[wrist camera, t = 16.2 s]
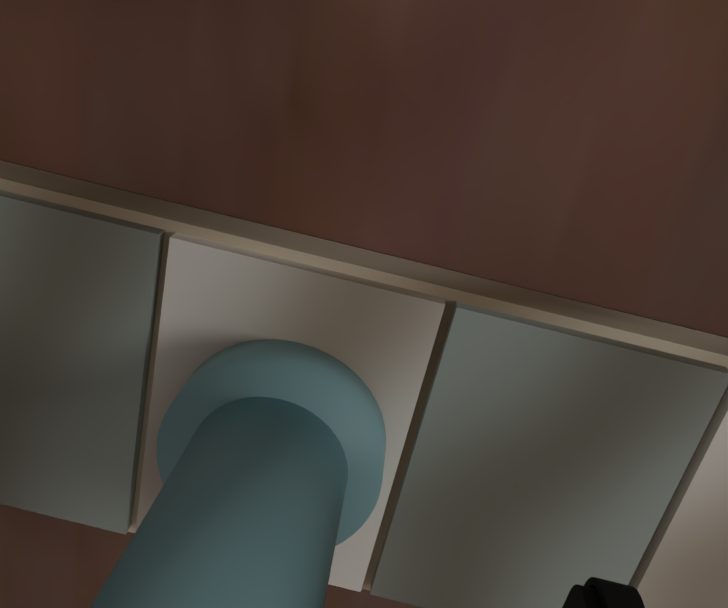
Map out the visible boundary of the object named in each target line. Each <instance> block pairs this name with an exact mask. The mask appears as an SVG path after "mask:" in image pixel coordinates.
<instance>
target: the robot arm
mask: <svg viewBox="0 0 728 608" xmlns="http://www.w3.org/2000/svg"><path fill="white" fill-rule="evenodd" d="M562 608H645V606H644V603H643V601H642V598H641V596H640V594H639V592H638V590H637V589H636V588H634V587H633V586H629V585H625V584H621V583H617V582H613V581H609V580H605V579H600V578H596V577H590V578H589V579H588V580H587V581H586V583H585V584H584V586H582V585H577V584H575V585H574V586H573V587H572V588H571V590H570V592H569V594H568V596H567V598H566V600H565V602H564V605H563V607H562Z"/></svg>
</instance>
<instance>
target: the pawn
mask: <svg viewBox="0 0 728 608" xmlns="http://www.w3.org/2000/svg"><path fill="white" fill-rule="evenodd" d="M385 451H386V432H385V424H384V421H383V417H382V413H381V411H380V408H379V406H378V404H377V401H376V400H375V398H374V396H373V395H372V393H371V391H370V390H369V388H368V387H367V386H366V385H365V383H364V382H363V381H362V379H361V378H360V377H359V376H358V375H357V374H356V373H354V372H353V371H352V370H351V369H350V368H349V367H348V366H346V365H345V364H344V363H342V362H341V361H340V360H338V359H336V358H335V357H333V356H331V355H330V354H328V353H326V352H324V351H321V350H319V349H317V348H315V347H312V346H308V345H305V344H302V343H298V342H293V341H287V340H275V339H265V340H254V341H248V342H243V343H240V344H237V345H233V346H230V347H228V348H226V349H224V350H222V351H220V352H218V353H216V354H215V355H213V356H212V357H210V358H209V359H207V360H206V361H205V362H204V363H203V364H201V365H200V366H199V367H198V368H197V369H196V370H195V372H194V373H193V374H192V375H191V377H190V378H189V379H188V381H187V382H186V384H185V385H184V386H183V388H182V389H181V391H180V392H179V393H178V395H177V396H176V398H175V399H174V400H173V402H172V403H171V405H170V406H169V408H168V410H167V411H166V413H165V415H164V417H163V419H162V422H161V425H160V427H159V432H158V436H157V445H156V456H157V465H158V469H159V473H160V477H161V480H162V482H163V487H162V489H161V490H160V492H159V494H158V495H157V497H156V499H155V500H154V502H153V504H152V505H151V507H150V509H149V510H148V512H147V514H146V515H145V517H144V519H143V521H142V522H141V524H140V526H139V527H138V529H137V531H136V532H135V534H134V536H133V537H132V539H131V541H130V542H129V544H128V546H127V547H126V549H125V551H124V552H123V554H122V556H121V557H120V559H119V561H118V562H117V564H116V566H115V567H114V569H113V571H112V572H111V574H110V576H109V577H108V579H107V581H106V583H105V584H104V586H103V588H102V589H101V591H100V593H99V594H98V596H97V598H96V599H95V601H94V603H93V604H92V606H91V608H324V604H325V598H326V593H327V587H328V582H329V577H330V571H331V566H332V560H333V555H334V550H335V546H337V545H338V544H340V543H342V542H344V541H345V540H346V539H348V538H349V537H351V536H352V535H353V534H354V533H355V532H356V531H358V530H359V529H360V528H361V527H362V526H363V524H364V523H365V522H366V520H367V519H368V518H369V517H370V515H371V513H372V511H373V510H374V508H375V506H376V503H377V501H378V498H379V495H380V491H381V486H382V479H383V470H384V460H385Z"/></svg>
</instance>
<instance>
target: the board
mask: <svg viewBox="0 0 728 608" xmlns="http://www.w3.org/2000/svg"><path fill="white" fill-rule="evenodd" d="M265 339H275V340H287V341H293V342H298V343H302V344H305V345H308V346H312V347H315V348H317V349H319V350H321V351H324V352H326V353H328V354H330V355H331V356H333V357H335V358H336V359H338V360H340V361H341V362H342V363H344V364H345V365H346V366H348V367H349V368H350V369H351V370H352V371H353V372H354V373H356V374H357V375H358V376H359V377H360V378H361V379H362V381H363V382H364V383H365V385H366V386H367V387H368V388H369V390H370V391H371V393H372V395H373V396H374V398H375V400H376V401H377V404H378V406H379V408H380V411H381V413H382V417H383V421H384V424H385V432H386V451H385V460H384V470H383V479H382V486H381V491H380V495H379V498H378V501H377V503H376V506H375V508H374V510H373V511H372V513H371V515H370V517H369V518H368V519H367V520H366V522H365V523H364V524H363V526H362V527H361V528H360V529H359V530H358V531H356V532H355V533H354V534H353V535H352V536H351V537H349V538H348V539H346V540H345V541H344V542H342V543H340V544H338V545H337V546H335V550H334V555H333V560H332V566H331V571H330V577H329V582H328V584H330V585H334V586H338V587H342V588H346V589H350V590H354V591H358V592H361V589H365V590H370V594H371V595H375V596H379V597H383V598H387V599H391V600H395V601H399V602H403V603H407V604H411V605H416V606H420V607H424V608H562V607H563V605H564V602H565V600H566V598H567V596H568V594H569V592H570V590H571V588H572V587H573V586H574V585H575V584H577V585H582V586H584V584H585V583H586V581H587V580H588V579H589V578H590V577H596V578H600V579H605V580H609V581H613V582H617V583H621V584H625V585H629V586H633V587H634V588H636V589H637V590H638V592H639V594H640V596H641V598H642V601H643V603H644V606H645V608H728V338H726V337H722V336H718V335H714V334H710V333H706V332H701V331H697V330H693V329H689V328H685V327H681V326H677V325H673V324H669V323H665V322H661V321H656V320H652V319H648V318H644V317H640V316H636V315H632V314H628V313H624V312H620V311H615V310H611V309H607V308H603V307H599V306H595V305H591V304H587V303H583V302H579V301H575V300H570V299H566V298H562V297H558V296H554V295H550V294H546V293H542V292H538V291H534V290H529V289H525V288H521V287H517V286H513V285H509V284H505V283H501V282H497V281H493V280H489V279H484V278H480V277H476V276H472V275H468V274H464V273H460V272H456V271H452V270H448V269H444V268H439V267H435V266H431V265H427V264H423V263H419V262H415V261H411V260H407V259H403V258H398V257H394V256H390V255H386V254H382V253H378V252H374V251H370V250H366V249H362V248H358V247H353V246H349V245H345V244H341V243H337V242H333V241H329V240H325V239H321V238H317V237H313V236H308V235H304V234H300V233H296V232H292V231H288V230H284V229H280V228H276V227H272V226H267V225H263V224H259V223H255V222H251V221H247V220H243V219H239V218H235V217H231V216H227V215H222V214H218V213H214V212H210V211H206V210H202V209H198V208H194V207H190V206H186V205H181V204H177V203H173V202H169V201H165V200H161V199H157V198H153V197H149V196H145V195H141V194H136V193H132V192H128V191H124V190H120V189H116V188H112V187H108V186H104V185H100V184H96V183H91V182H87V181H83V180H79V179H75V178H71V177H67V176H63V175H59V174H55V173H50V172H46V171H42V170H38V169H34V168H30V167H26V166H22V165H18V164H14V163H10V162H5V161H1V160H0V504H3V505H7V506H11V507H15V508H19V509H23V510H27V511H31V512H36V513H40V514H44V515H48V516H52V517H56V518H60V519H64V520H68V521H72V522H76V523H81V524H85V525H89V526H93V527H97V528H101V529H105V530H109V531H113V532H117V533H121V534H126V533H127V531H128V532H133V533H135V532H136V531H137V529H138V527H139V526H140V524H141V522H142V521H143V519H144V517H145V515H146V514H147V512H148V510H149V509H150V507H151V505H152V504H153V502H154V500H155V499H156V497H157V495H158V494H159V492H160V490H161V489H162V487H163V482H162V480H161V477H160V473H159V469H158V465H157V456H156V445H157V436H158V432H159V427H160V425H161V422H162V419H163V417H164V415H165V413H166V411H167V410H168V408H169V406H170V405H171V403H172V402H173V400H174V399H175V398H176V396H177V395H178V393H179V392H180V391H181V389H182V388H183V386H184V385H185V384H186V382H187V381H188V379H189V378H190V377H191V375H192V374H193V373H194V372H195V370H196V369H197V368H198V367H199V366H200V365H201V364H203V363H204V362H205V361H206V360H207V359H209V358H210V357H212V356H213V355H215V354H216V353H218V352H220V351H222V350H224V349H226V348H228V347H230V346H233V345H237V344H240V343H243V342H248V341H254V340H265Z"/></svg>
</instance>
